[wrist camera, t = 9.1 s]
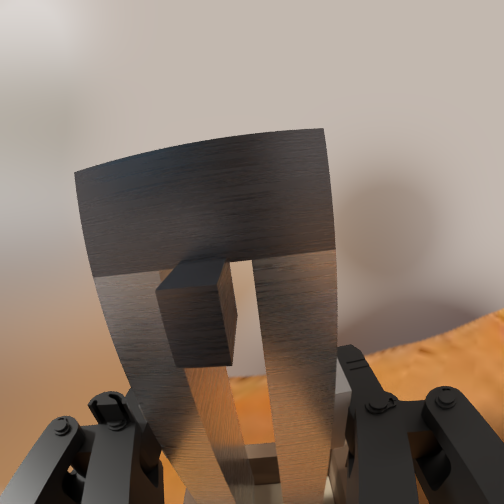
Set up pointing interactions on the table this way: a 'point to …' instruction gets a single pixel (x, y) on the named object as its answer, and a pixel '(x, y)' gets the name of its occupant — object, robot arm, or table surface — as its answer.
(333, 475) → the box
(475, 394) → the table surface
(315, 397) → the steel tongs
